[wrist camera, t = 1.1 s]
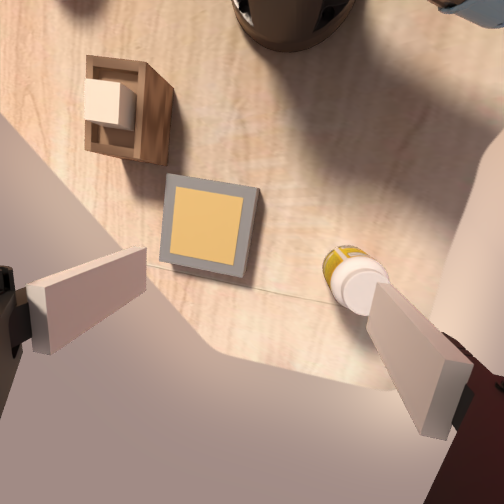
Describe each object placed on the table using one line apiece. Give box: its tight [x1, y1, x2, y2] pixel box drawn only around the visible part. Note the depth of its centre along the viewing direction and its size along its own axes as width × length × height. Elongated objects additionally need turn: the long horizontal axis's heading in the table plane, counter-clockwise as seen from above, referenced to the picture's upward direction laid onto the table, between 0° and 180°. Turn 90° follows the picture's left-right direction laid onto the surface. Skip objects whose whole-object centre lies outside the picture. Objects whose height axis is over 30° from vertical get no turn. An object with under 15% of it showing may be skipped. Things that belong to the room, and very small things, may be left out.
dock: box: [159, 173, 259, 278], centre depth 36 cm, size 12×12×3 cm
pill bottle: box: [322, 245, 391, 316], centre depth 31 cm, size 6×6×11 cm
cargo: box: [84, 78, 137, 131], centre depth 29 cm, size 4×4×3 cm
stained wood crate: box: [85, 55, 174, 166], centre depth 33 cm, size 10×7×7 cm
